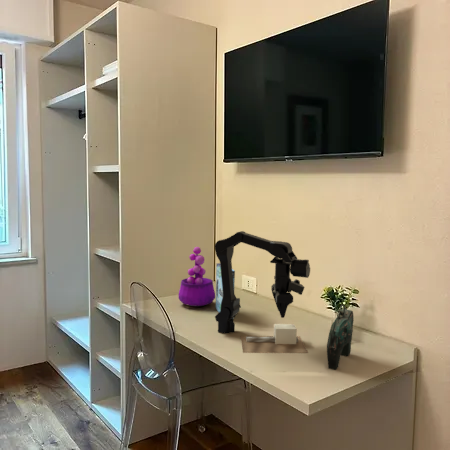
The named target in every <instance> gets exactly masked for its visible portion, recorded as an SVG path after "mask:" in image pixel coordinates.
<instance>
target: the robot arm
mask: <svg viewBox="0 0 450 450" xmlns="http://www.w3.org/2000/svg"><path fill="white" fill-rule="evenodd" d="M241 243H243V244H246V245H248V246H252V247H254V248H257V249H261V250H263V251H266V252H268V253H269V254H271V256H274V257H273V258H272V260H269V262H270V264H275V266H274V267H275V269H274V276H273V277H274V283H273V284H272V285H271V286H270V287H271V294H272V296H273V300H274V301H275V302H274V303H275V305H276V308H277V311H278V312H279V315H280V318H282V319H285V316H286V312H287V309H288V307H289V306H290V305H291V304H292V303H294V296H293V294H292V292H294V293H297V294H298V295H300V296H302V295H303V293H304V290H305V286H304V285H303V284H301V283H300V282H301V280H299V279H294V280H292V279H291V275H292V277H298V278H305V279H306V278H307V279H309V277H310V274H311V266H310V263H309V262H310V261H309V259H299V258H298V257H297V256H296V254H295V253H294V251H293V246H292V245H291V243H289V242H286V241H278V240H270V239H266V238H263V237H260V236H258V235H254V234H251V233H248V232H246V231H244V230H242V231H236V232H235V233H234V234H232V235H230V236H229V237H227V238H224V239H219V240H217V241H216V242H215V244H214V251H215V255H216V257H217V259H218V261H219V263H220V267H221V278H222V289H223V298H222V302H221V311H220V312H218V313H217V314H215V316H214V318H215V321H216V322H217V332H218V333H220V334H231V333H235V331H236V329H235V324H236V323H235V322H234V319H235V317H236V316H237V314H238V313H239V312H240V308H242V306H241V298H240V297H236V294H235V283H234V284H233V273H232V269H233V264H232V259H233V256H234V249H235V247H236V246H237V245H239V244H241ZM233 318H234V319H233Z"/></svg>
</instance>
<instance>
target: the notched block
mask: <svg viewBox="0 0 450 450" xmlns="http://www.w3.org/2000/svg"><path fill="white" fill-rule="evenodd" d="M297 329H298V328H297V326H296V325H295V324H294V323H273V336H274V337H275V344H296V336H297V331H298V330H297Z"/></svg>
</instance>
